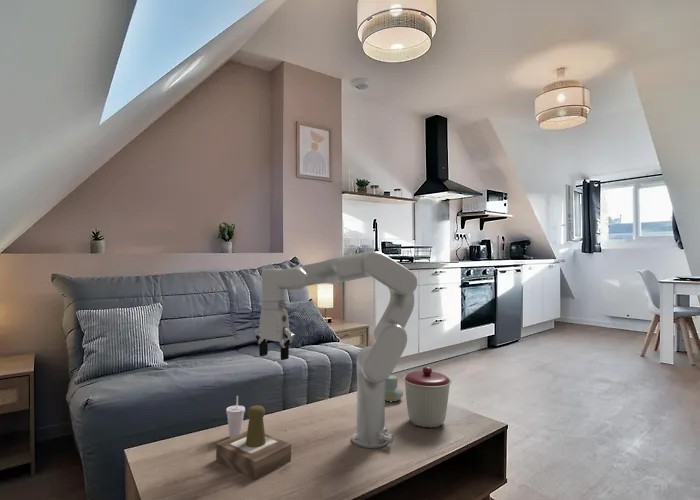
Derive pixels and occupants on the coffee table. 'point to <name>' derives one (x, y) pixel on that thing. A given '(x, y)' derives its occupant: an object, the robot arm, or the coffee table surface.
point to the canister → (427, 397)
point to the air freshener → (392, 389)
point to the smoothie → (235, 419)
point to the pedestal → (253, 455)
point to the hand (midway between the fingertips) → (273, 357)
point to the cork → (256, 427)
